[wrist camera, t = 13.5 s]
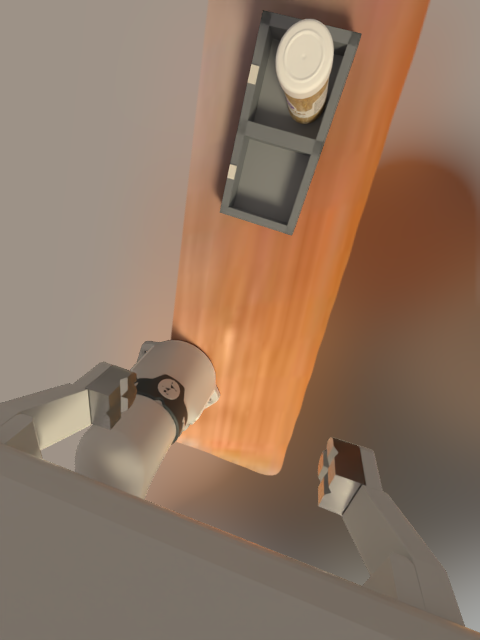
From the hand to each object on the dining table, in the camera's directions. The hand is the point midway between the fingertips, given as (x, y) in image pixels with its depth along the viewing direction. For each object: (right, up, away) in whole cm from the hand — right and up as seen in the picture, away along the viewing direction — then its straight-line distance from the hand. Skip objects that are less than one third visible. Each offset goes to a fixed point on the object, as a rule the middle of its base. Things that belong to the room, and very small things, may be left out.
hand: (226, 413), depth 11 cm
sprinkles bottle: (+9, +30, +22) cm, 39 cm away
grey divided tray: (+6, +27, +25) cm, 37 cm away
